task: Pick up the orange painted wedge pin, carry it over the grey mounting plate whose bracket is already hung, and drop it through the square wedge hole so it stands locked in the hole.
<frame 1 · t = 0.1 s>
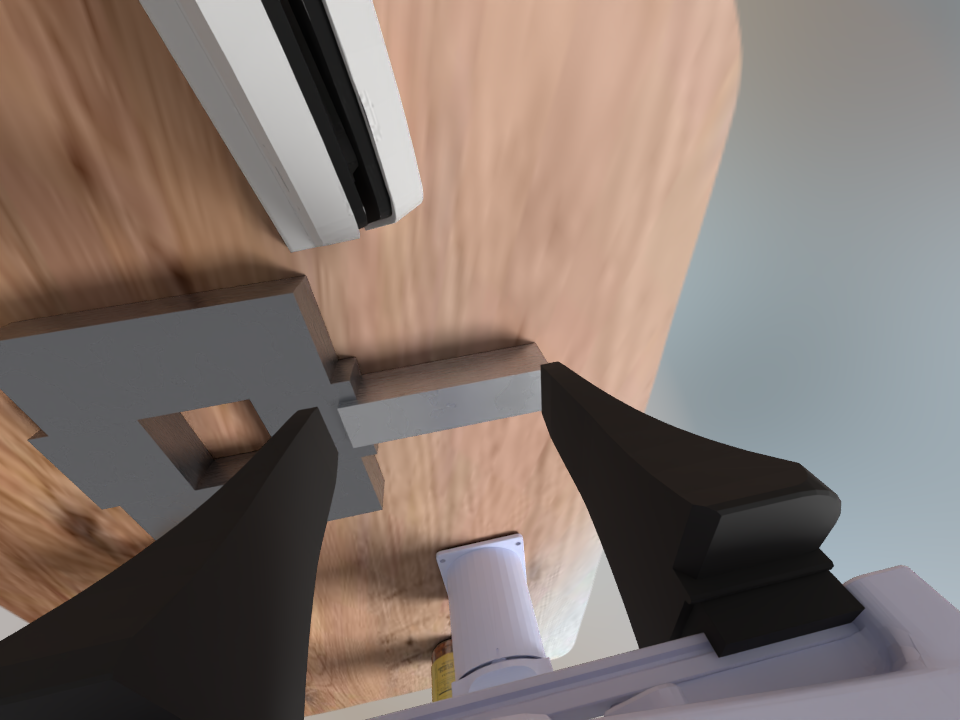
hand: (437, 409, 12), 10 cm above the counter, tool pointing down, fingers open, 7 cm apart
grey mounting plate: (238, 418, 22), on the counter
sauce bottle: (456, 643, 44), on the counter
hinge: (266, 12, 14), on the counter
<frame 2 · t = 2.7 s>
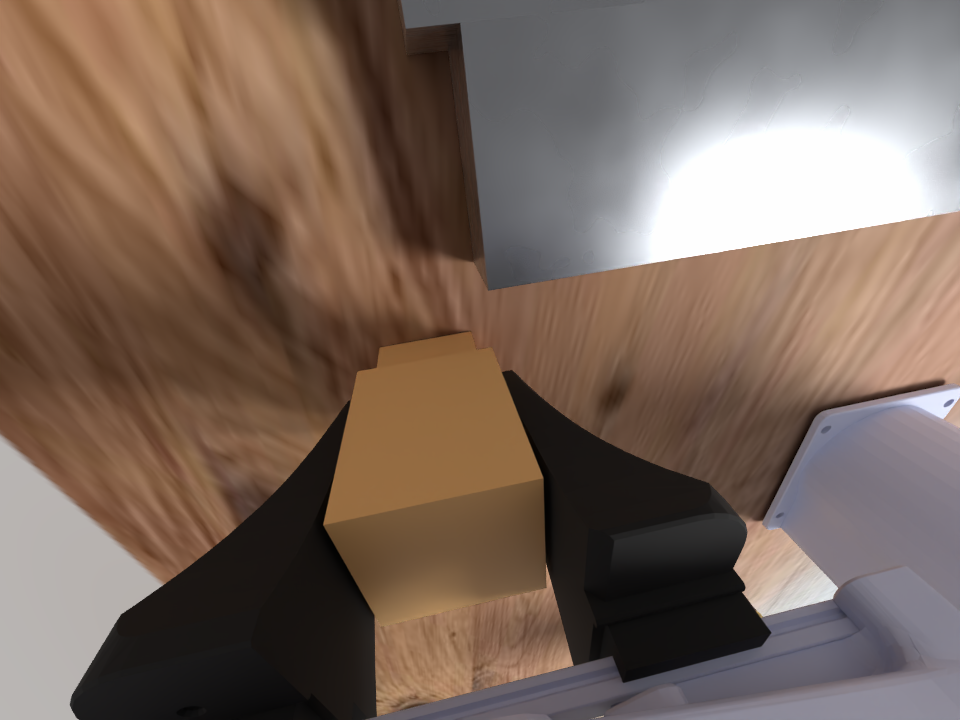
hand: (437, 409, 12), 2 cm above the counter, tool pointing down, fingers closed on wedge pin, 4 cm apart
wedge pin: (433, 376, 14), on the counter, touching gripper
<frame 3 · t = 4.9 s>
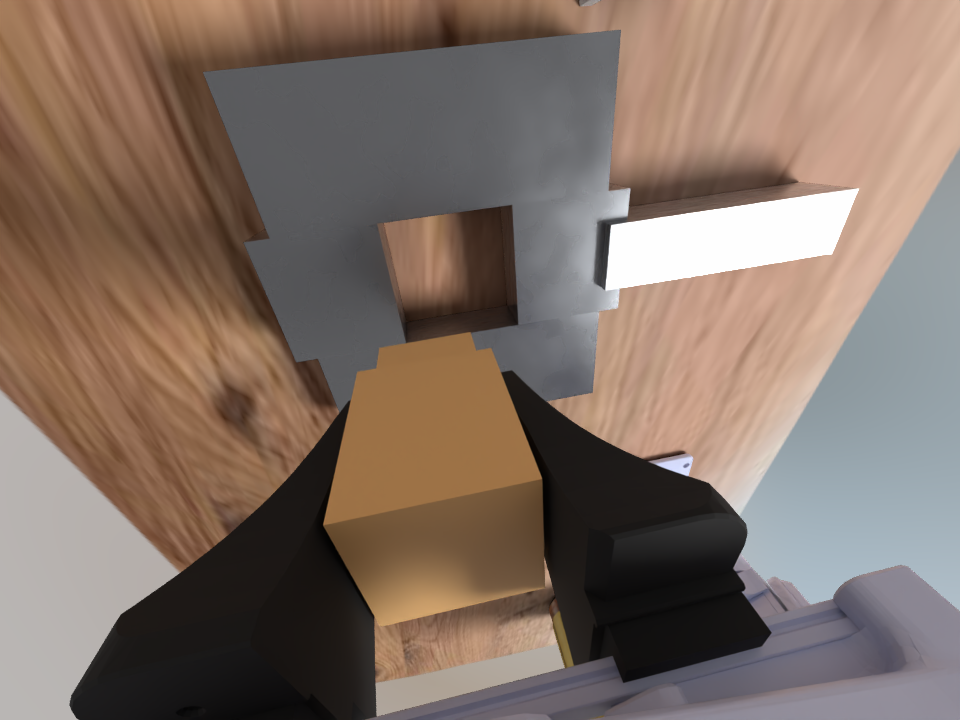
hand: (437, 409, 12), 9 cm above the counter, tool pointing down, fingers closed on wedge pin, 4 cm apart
grey mounting plate: (450, 263, 19), on the counter
wedge pin: (433, 377, 14), point 7 cm above the counter, touching gripper
sauce bottle: (573, 595, 40), on the counter
when the fingers open (4 cm above the counter, at t = 7.1 s): wedge pin drops 2 cm, resting in grey mounting plate.
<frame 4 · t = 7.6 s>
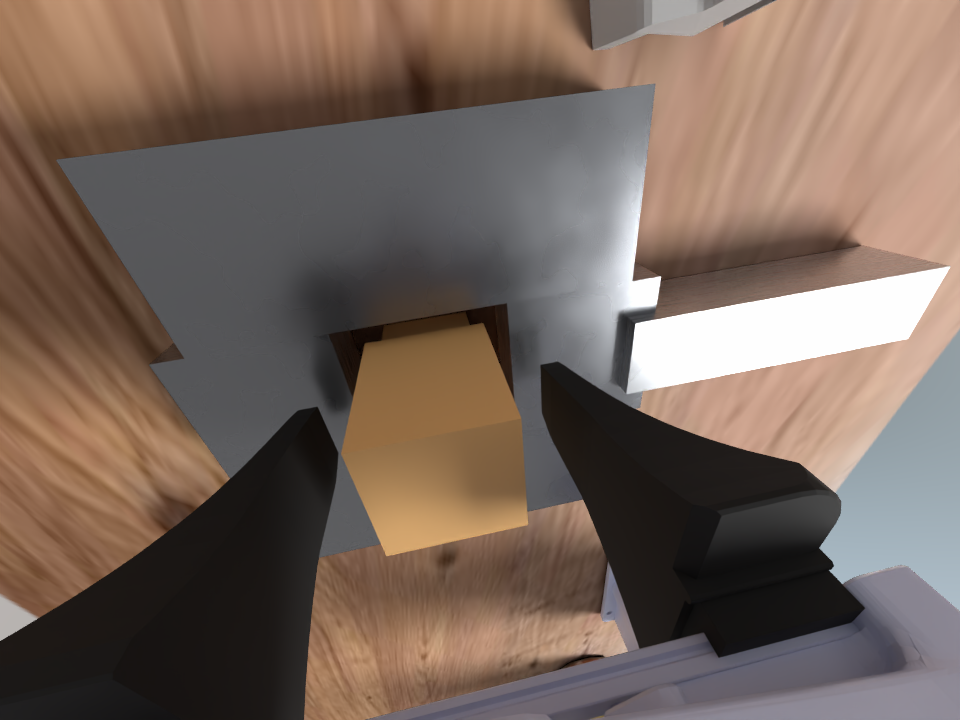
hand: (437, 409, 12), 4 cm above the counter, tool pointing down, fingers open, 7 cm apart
grey mounting plate: (431, 354, 15), on the counter
wedge pin: (432, 353, 15), resting in grey mounting plate
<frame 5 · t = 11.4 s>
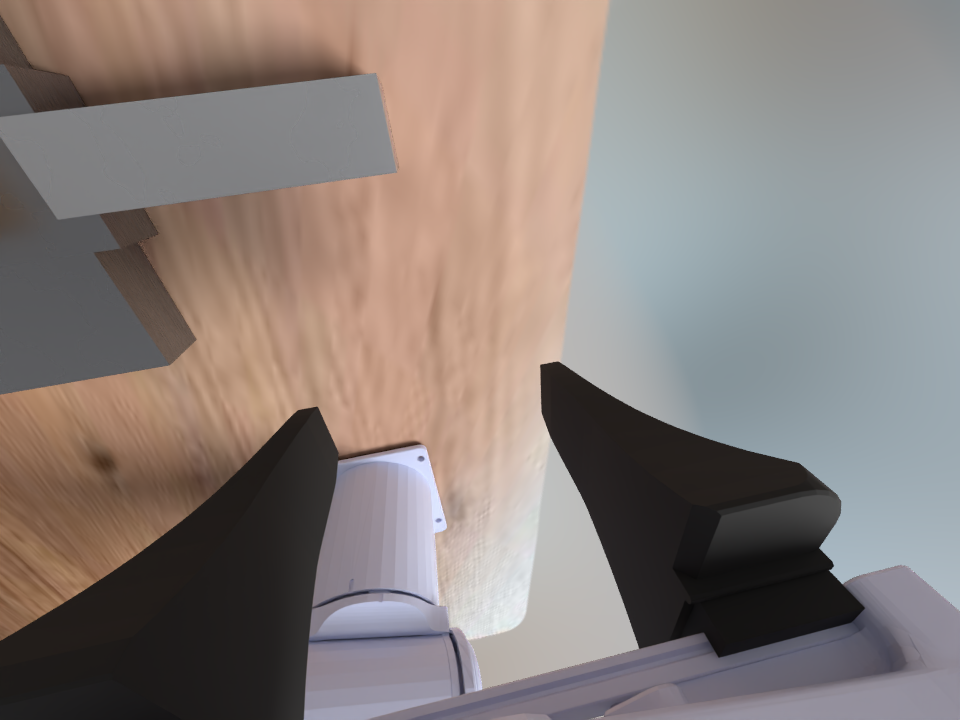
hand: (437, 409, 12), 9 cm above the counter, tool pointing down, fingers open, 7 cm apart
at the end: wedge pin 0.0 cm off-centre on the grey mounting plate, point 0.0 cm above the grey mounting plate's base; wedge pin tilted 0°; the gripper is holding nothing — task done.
